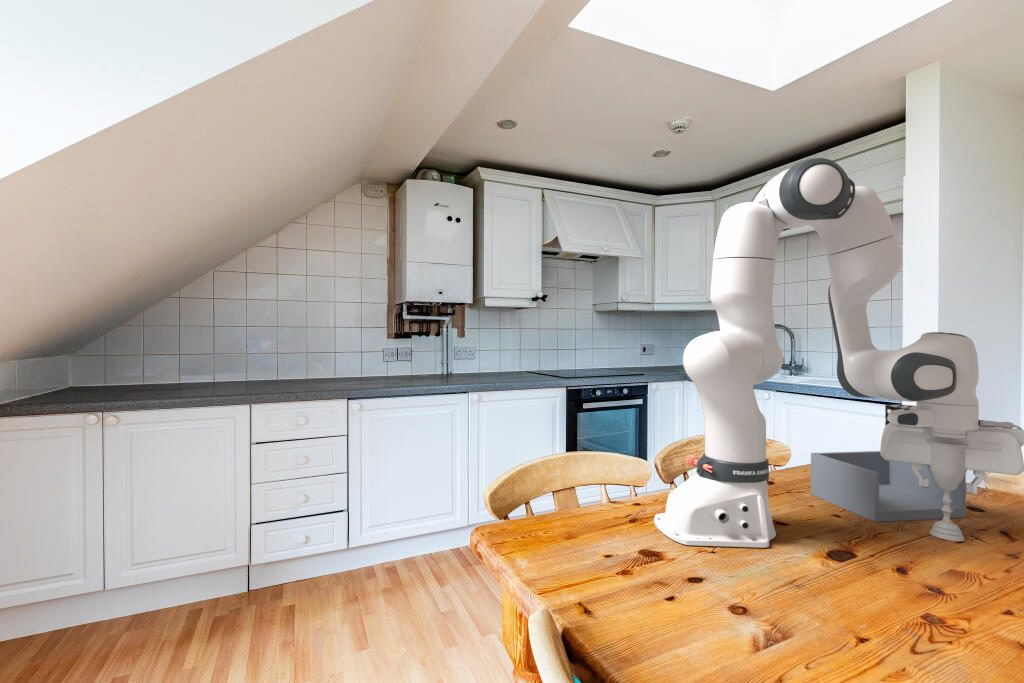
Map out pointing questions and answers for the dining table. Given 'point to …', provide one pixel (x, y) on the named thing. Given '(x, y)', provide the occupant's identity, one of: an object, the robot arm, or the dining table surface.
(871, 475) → the open gray box tray
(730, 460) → the robot arm
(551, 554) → the dining table surface
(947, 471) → the chalice
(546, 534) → the dining table surface
